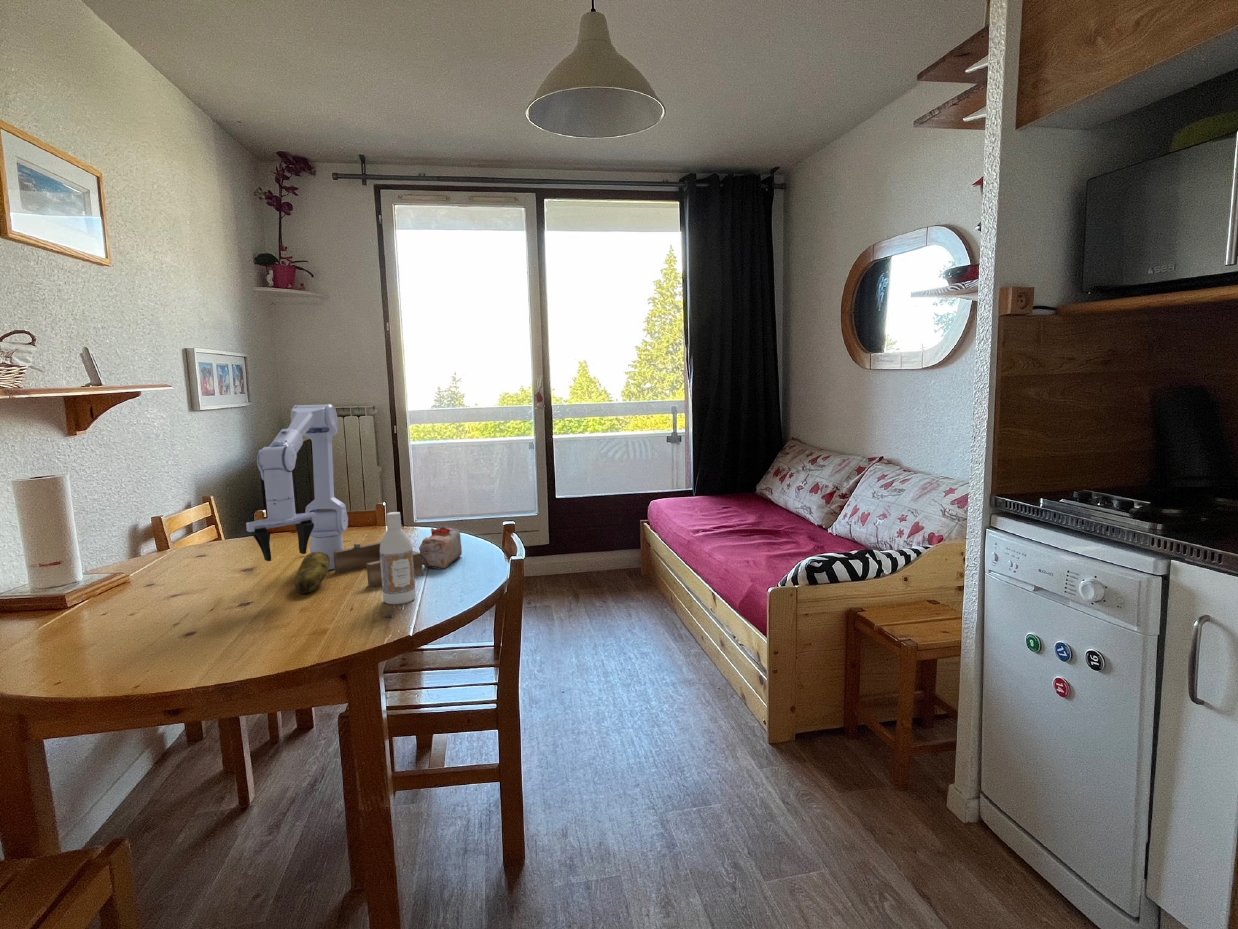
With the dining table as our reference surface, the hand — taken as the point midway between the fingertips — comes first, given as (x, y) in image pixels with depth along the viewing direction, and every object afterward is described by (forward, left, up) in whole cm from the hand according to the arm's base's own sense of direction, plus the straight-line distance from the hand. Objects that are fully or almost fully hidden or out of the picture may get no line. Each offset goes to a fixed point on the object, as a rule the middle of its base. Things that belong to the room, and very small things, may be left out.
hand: (285, 556), depth 149 cm
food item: (+3, +39, -10) cm, 40 cm away
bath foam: (+23, +15, -10) cm, 29 cm away
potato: (-3, +6, -10) cm, 12 cm away
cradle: (-2, +23, -10) cm, 25 cm away
